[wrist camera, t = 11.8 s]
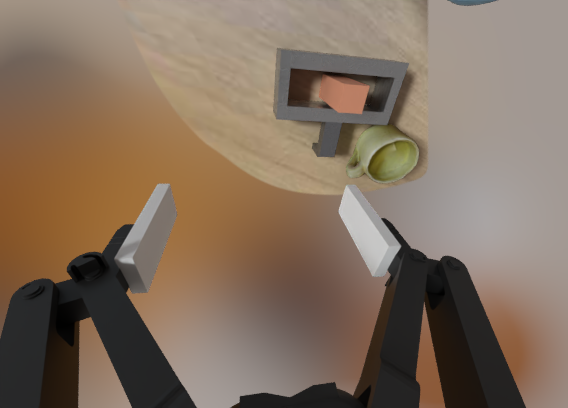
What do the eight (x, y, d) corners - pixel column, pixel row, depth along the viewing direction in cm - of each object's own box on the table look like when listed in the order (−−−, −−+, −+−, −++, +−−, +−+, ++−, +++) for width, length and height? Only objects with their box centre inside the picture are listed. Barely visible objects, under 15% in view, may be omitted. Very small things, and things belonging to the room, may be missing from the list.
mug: (412, 107, 40) (432, 146, 35) (397, 150, 49) (411, 186, 43) (342, 116, 42) (350, 154, 36) (339, 156, 50) (345, 192, 45)
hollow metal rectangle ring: (276, 48, 34) (281, 49, 30) (391, 60, 37) (409, 63, 33) (271, 146, 43) (273, 157, 39) (363, 149, 46) (374, 160, 42)
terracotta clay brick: (318, 96, 39) (338, 112, 31) (322, 73, 37) (344, 84, 29) (338, 98, 39) (361, 113, 31) (343, 75, 37) (369, 86, 29)
